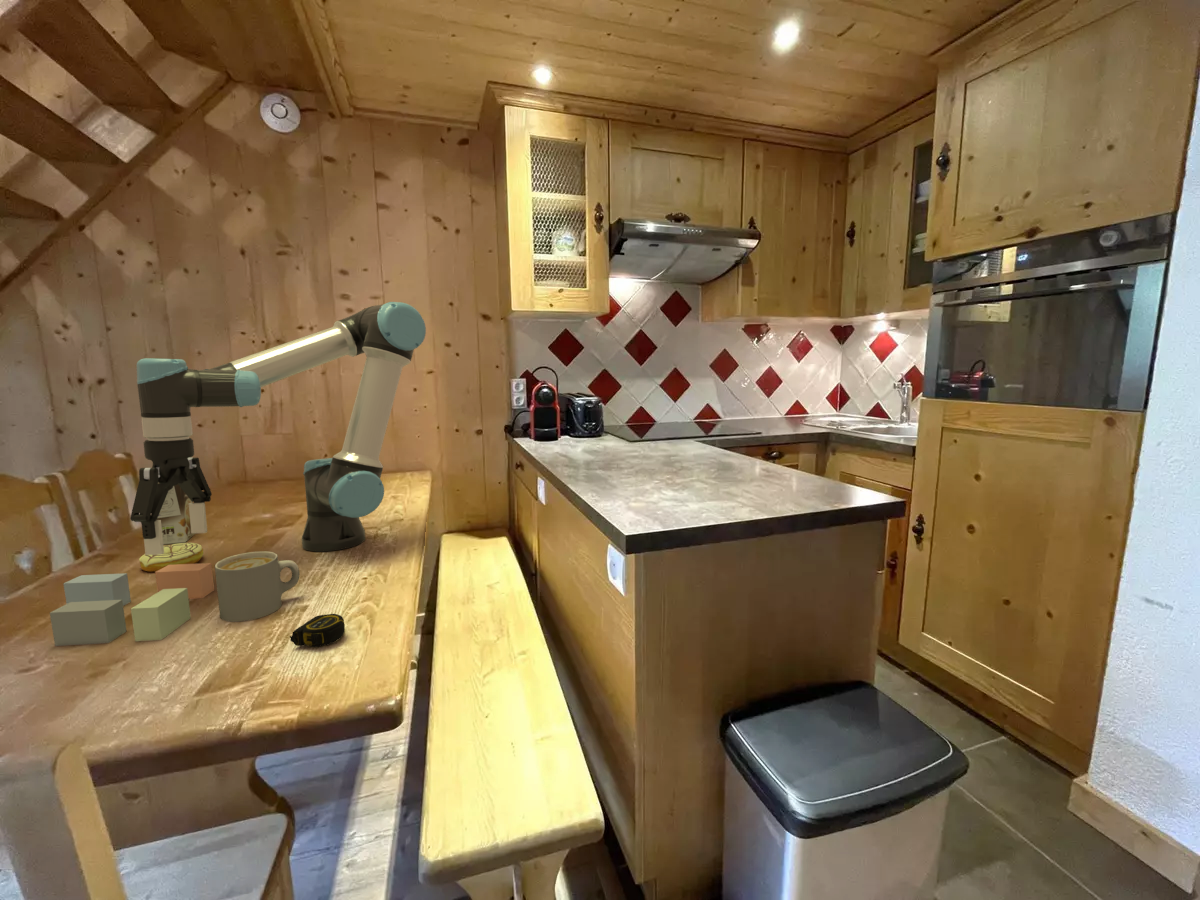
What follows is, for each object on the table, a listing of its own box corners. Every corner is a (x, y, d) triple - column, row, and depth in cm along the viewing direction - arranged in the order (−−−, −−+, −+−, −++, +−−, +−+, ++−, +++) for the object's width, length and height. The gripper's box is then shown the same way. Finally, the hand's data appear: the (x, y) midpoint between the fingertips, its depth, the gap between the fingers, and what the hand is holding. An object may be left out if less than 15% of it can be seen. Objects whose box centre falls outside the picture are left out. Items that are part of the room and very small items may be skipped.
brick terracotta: (214, 590, 109) (211, 563, 108) (202, 598, 105) (199, 570, 104) (172, 592, 108) (168, 564, 107) (158, 600, 104) (155, 572, 103)
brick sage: (167, 619, 96) (163, 589, 95) (190, 618, 97) (187, 588, 96) (135, 641, 88) (130, 608, 87) (161, 640, 89) (157, 607, 88)
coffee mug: (218, 626, 93) (212, 574, 92) (222, 605, 102) (216, 557, 100) (303, 609, 100) (299, 560, 99) (300, 590, 109) (296, 545, 107)
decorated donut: (142, 563, 124) (140, 546, 123) (203, 553, 131) (201, 537, 130) (139, 578, 115) (136, 560, 114) (205, 566, 122) (203, 549, 122)
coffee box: (187, 542, 138) (180, 483, 136) (156, 545, 135) (149, 485, 133) (196, 532, 146) (190, 477, 144) (168, 535, 144) (161, 478, 141)
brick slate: (126, 631, 91) (122, 599, 91) (108, 643, 88) (104, 610, 87) (75, 634, 90) (70, 602, 89) (55, 646, 86) (49, 612, 86)
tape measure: (319, 630, 93) (318, 610, 92) (354, 633, 92) (352, 613, 91) (290, 649, 86) (288, 628, 86) (327, 654, 85) (325, 632, 84)
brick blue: (130, 602, 103) (127, 573, 102) (115, 611, 99) (111, 581, 98) (85, 604, 102) (81, 575, 101) (68, 613, 98) (63, 583, 97)
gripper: (188, 431, 113) (196, 525, 116) (95, 446, 89) (108, 565, 92) (225, 431, 114) (233, 524, 117) (143, 446, 90) (155, 564, 93)
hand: (178, 542), depth 104 cm, fingers open, 13 cm apart
